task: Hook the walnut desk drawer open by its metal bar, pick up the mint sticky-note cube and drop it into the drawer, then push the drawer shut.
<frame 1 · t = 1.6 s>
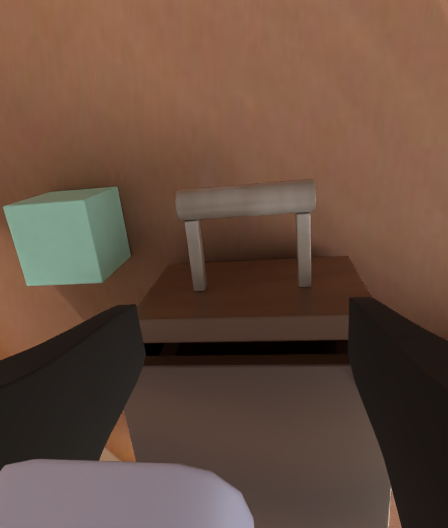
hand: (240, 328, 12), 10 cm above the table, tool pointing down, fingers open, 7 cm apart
note cube: (91, 224, 23), on the table
cabinet: (263, 372, 25), on the table
drawer: (257, 349, 19), point 4 cm above the table, slide at 0.5 cm
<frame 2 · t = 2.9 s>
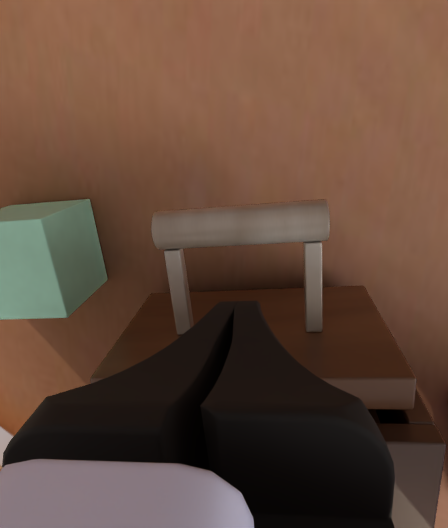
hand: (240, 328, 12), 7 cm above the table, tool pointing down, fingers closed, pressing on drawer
note cube: (60, 243, 19), on the table
cabinet: (263, 411, 22), on the table
drawer: (255, 400, 16), point 4 cm above the table, slide at 0.4 cm, touching gripper
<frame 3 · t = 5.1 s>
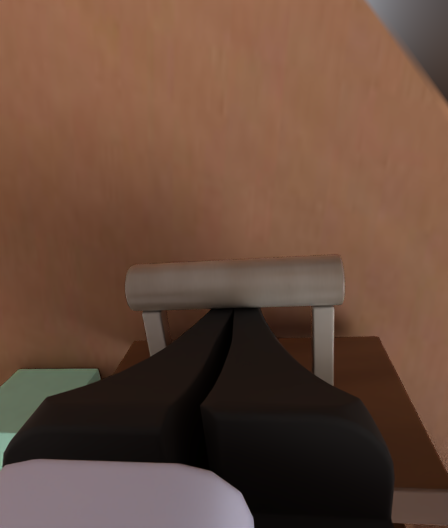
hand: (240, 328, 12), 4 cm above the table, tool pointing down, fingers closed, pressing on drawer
note cube: (68, 403, 19), on the table
drawer: (252, 474, 14), point 4 cm above the table, slide at 7.3 cm, touching gripper
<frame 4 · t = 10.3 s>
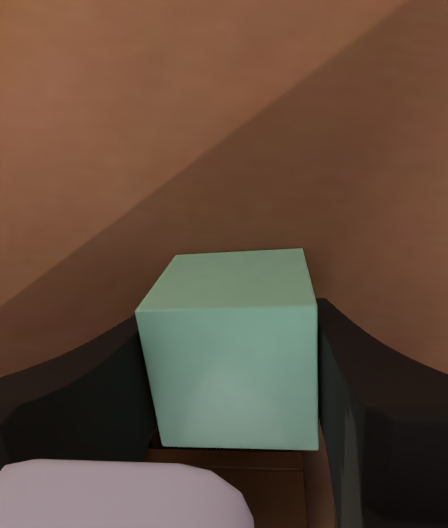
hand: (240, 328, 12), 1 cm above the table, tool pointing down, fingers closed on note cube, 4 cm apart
note cube: (242, 308, 13), on the table, touching gripper
when the fingers open (6 cm above the table, at t = 14.4 s): note cube stays where it is, point 4 cm above the table.
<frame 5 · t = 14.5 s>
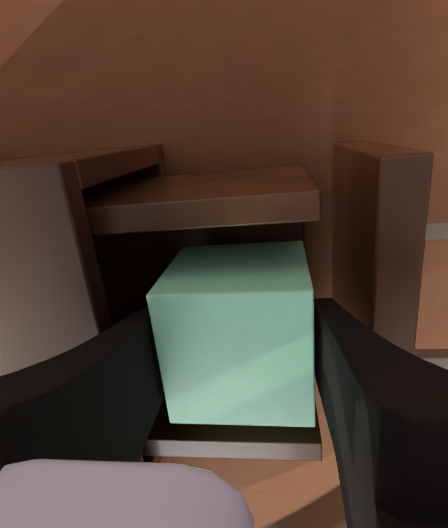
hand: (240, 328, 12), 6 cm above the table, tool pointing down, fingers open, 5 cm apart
note cube: (245, 297, 14), point 4 cm above the table
cabinet: (55, 270, 19), on the table
drawer: (275, 298, 14), point 4 cm above the table, slide at 7.3 cm
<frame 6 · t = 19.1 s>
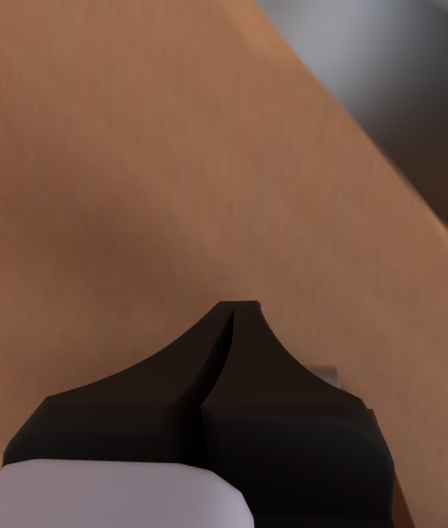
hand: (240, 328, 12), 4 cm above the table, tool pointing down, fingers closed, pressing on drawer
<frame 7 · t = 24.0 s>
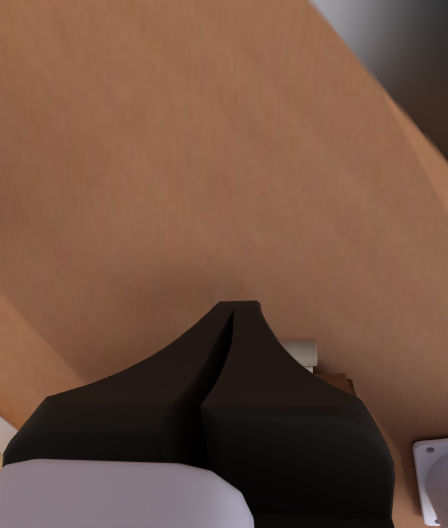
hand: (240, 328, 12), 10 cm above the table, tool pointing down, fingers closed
drawer: (265, 461, 22), point 4 cm above the table, slide at 0.0 cm, touching note cube
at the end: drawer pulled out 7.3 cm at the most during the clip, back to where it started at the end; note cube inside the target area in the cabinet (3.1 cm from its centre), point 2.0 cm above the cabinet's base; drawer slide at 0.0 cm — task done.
